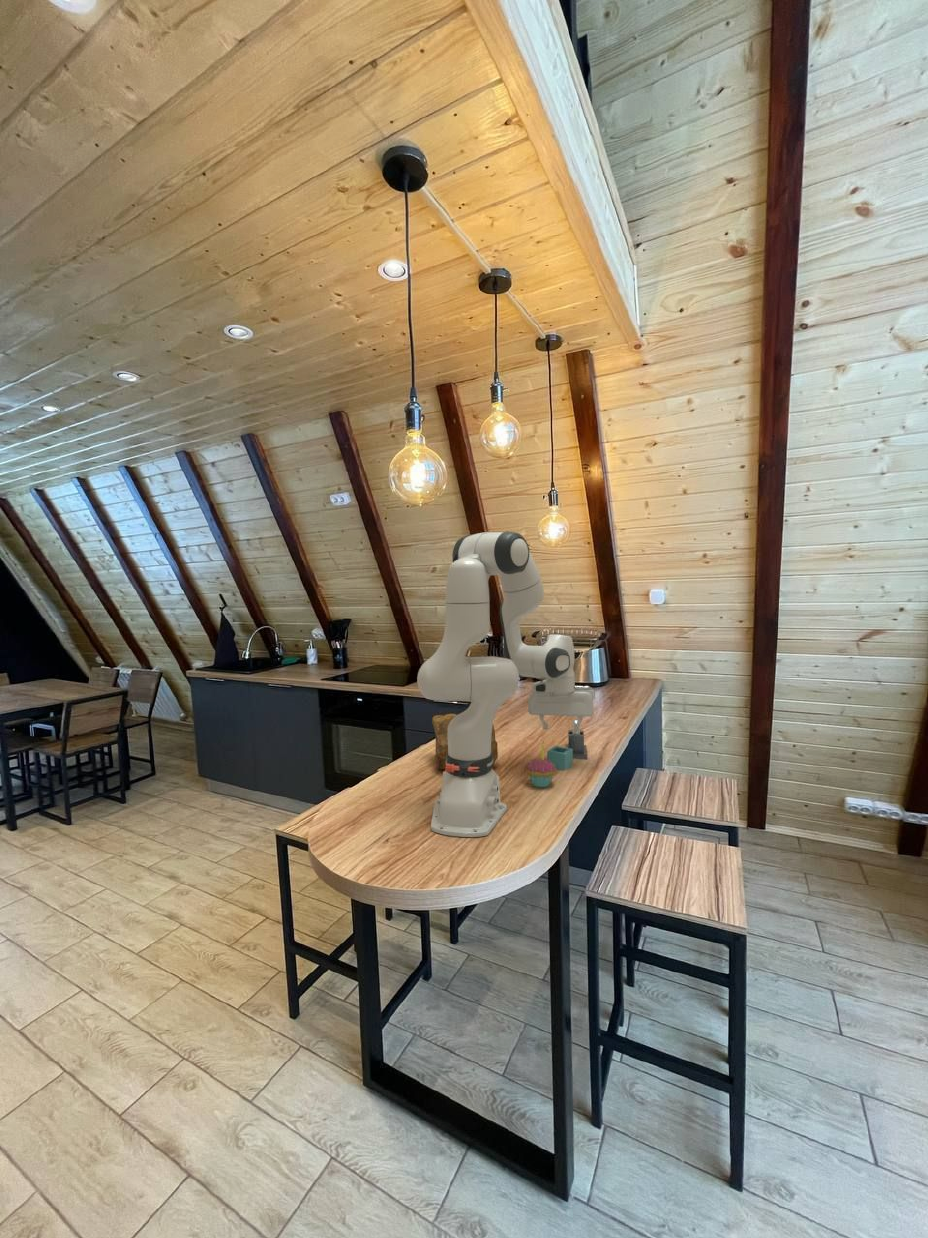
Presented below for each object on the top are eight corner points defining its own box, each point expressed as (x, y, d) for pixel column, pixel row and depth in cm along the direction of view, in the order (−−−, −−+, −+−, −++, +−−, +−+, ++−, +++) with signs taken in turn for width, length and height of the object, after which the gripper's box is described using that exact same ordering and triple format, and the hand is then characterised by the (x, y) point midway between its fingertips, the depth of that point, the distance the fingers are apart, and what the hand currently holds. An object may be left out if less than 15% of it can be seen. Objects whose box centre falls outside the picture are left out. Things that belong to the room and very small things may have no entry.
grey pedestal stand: (587, 759, 160) (587, 724, 159) (565, 758, 162) (565, 723, 161) (586, 746, 173) (586, 714, 172) (565, 745, 174) (565, 713, 173)
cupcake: (531, 776, 146) (531, 737, 145) (559, 781, 142) (559, 740, 142) (522, 787, 139) (521, 745, 138) (551, 792, 135) (551, 749, 134)
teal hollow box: (572, 764, 156) (572, 748, 155) (565, 770, 151) (565, 754, 151) (555, 760, 159) (555, 745, 159) (547, 766, 154) (547, 750, 154)
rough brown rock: (412, 769, 156) (410, 724, 153) (441, 750, 170) (440, 708, 167) (475, 786, 143) (474, 738, 141) (501, 764, 157) (500, 719, 155)
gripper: (594, 684, 154) (595, 728, 154) (529, 683, 158) (529, 725, 159) (595, 687, 148) (595, 733, 148) (526, 686, 152) (527, 730, 153)
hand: (560, 729), depth 153 cm, fingers open, 8 cm apart
